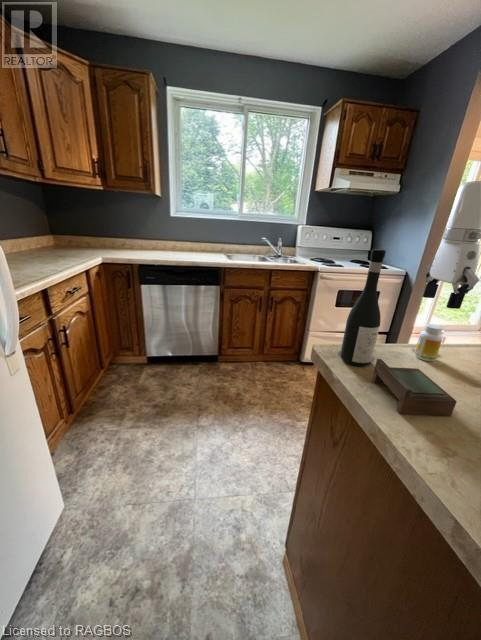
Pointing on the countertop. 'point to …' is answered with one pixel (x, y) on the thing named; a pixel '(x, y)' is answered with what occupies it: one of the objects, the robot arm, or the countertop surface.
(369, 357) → the wine bottle
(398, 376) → the wooden jewelry box
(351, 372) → the countertop surface
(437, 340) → the supplement bottle
